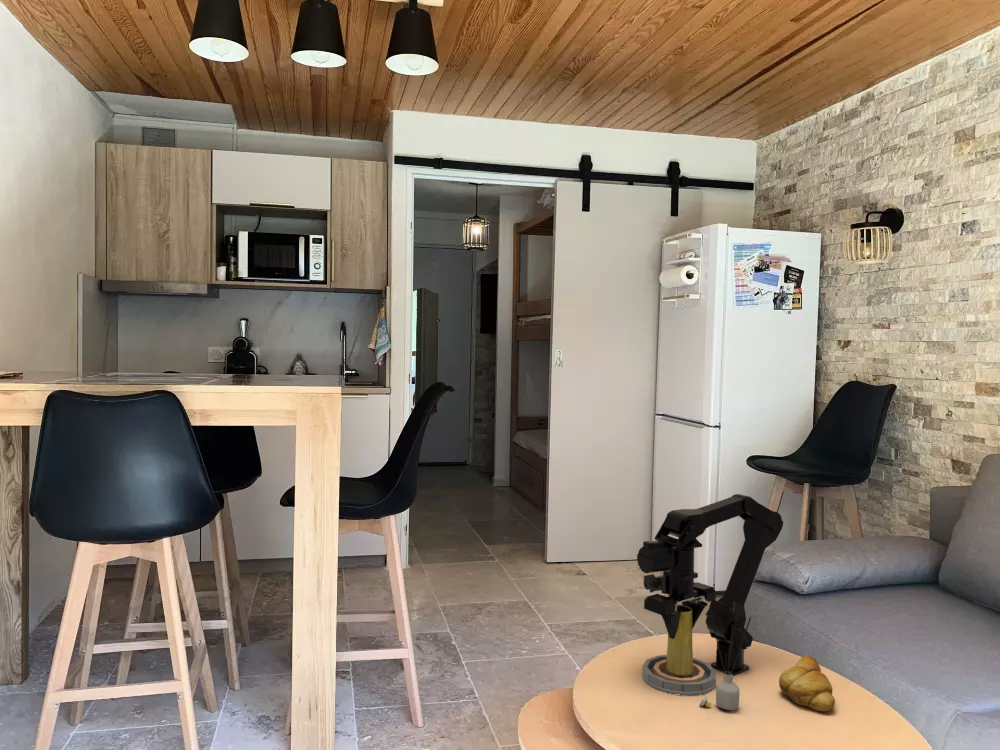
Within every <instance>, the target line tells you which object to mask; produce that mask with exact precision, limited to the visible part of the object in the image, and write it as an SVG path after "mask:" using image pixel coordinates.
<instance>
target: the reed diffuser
mask: <svg viewBox="0 0 1000 750" xmlns="http://www.w3.org/2000/svg"><path fill="white" fill-rule="evenodd" d="M711 620H712V624H713V628H714V632H715V637H716V639H715V641H716V646H717V645H718V649H719V653H720V658H721V662H722V666H723V670H724V671H723V673H722V674H723V677H722V678H723V679H722V680H721V681H719V682H718V683H716V687H715V704H716V705H717V707H719V708H720V709H724V710H727V711H728V710H729V711H731V710H732V711H734V710H738V709H739V706H740V693H741V692H740V688H739V686H738V685H737V684H736V683H735V682H734V681H733V680H734V679H733V678H734V675H733V670H734V667H735V664H736V661H737V658H738V655H739V652H740V649H741V646H742V643H743V640H744V637H745V634H746V631H747V632H748V628H749V626H750V623H751V620H752V617H751V616H750V617H749V619H748V621H747V624H746V628H745V629H746V630H745V633H744V636H743V639H742V642H741V645H740V648H739V651H738V654H737V657H736V660H735V663H734V666H733V668H732V671H731V672H730V671H729V666H730V660H731V654H732V647H733V641H734V635H735V628H736V622H737V614H736V620H735V626H734V632H733V624H732V630H731V639H730V648H729V658H728V667H727V671H725V669H724V665H723V661H722V656H721V652H720V648H719V644H718V640H717V635H716V631H715V627H714V623H713V619H712V616H711ZM732 633H733V639H732ZM731 642H732V645H731ZM711 705H712V703H711V702H710V701H709V700H708V697H707V696H706V695H704V696H703V698H702V699H701V700H700V703H699V706H700V707H704V706H705V707H706V708H710V707H711Z"/></svg>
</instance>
